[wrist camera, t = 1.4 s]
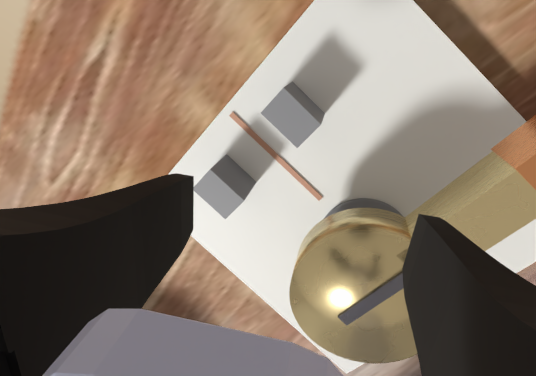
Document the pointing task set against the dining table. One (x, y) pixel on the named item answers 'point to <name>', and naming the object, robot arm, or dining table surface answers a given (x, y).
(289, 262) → the base
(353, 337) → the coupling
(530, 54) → the dining table surface
